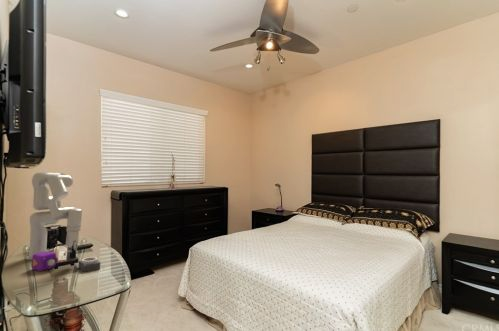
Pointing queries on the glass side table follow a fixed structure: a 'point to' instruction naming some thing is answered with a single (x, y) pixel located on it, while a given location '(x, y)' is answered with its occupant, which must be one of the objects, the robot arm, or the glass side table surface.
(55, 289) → the glass side table surface
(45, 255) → the toy camera
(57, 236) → the movie camera
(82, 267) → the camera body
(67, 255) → the lens
